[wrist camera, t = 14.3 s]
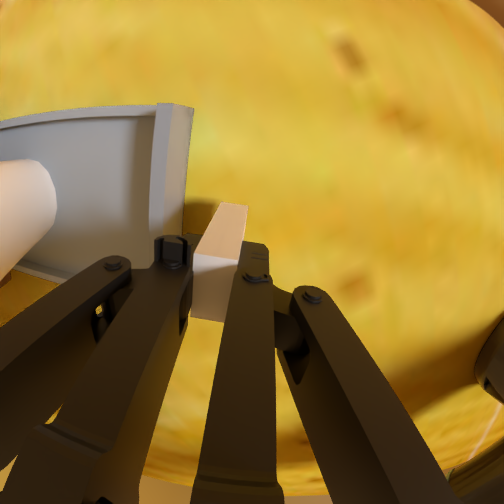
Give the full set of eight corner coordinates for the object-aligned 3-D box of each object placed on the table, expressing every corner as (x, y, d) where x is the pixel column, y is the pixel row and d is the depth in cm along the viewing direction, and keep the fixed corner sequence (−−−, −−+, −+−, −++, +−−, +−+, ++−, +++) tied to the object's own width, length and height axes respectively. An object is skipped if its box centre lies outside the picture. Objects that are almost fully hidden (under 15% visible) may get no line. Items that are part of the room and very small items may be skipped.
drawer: (194, 108, 15) (173, 103, 11) (179, 295, 20) (164, 329, 17) (-6, 123, 14) (-37, 130, 11) (4, 253, 20) (-20, 271, 16)
